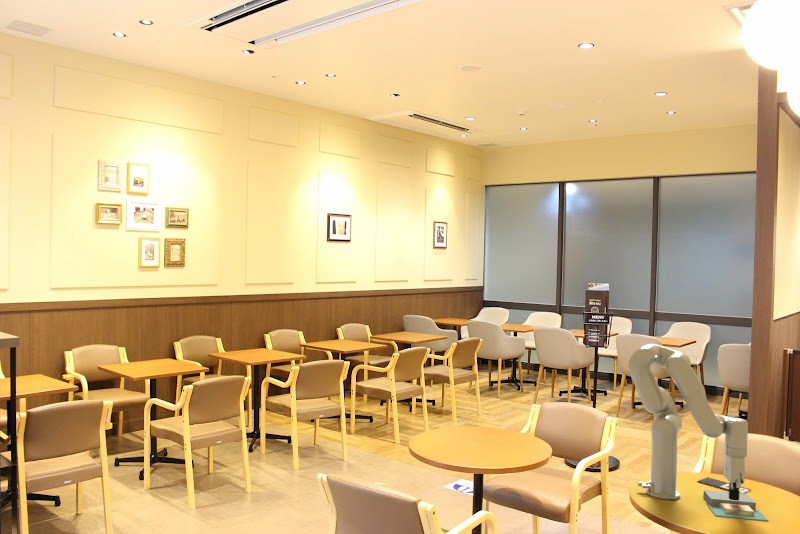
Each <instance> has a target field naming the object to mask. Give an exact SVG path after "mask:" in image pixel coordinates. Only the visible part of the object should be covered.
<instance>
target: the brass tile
mask: <svg viewBox="0 0 800 534" xmlns="http://www.w3.org/2000/svg"><path fill="white" fill-rule="evenodd" d="M719 507H720V508H721V509H722V510H723V511H724V512H725V513H729V514H739V515H750V516H754V511H753V510H752V509H751V508H750V507H749V506H748V505H745V504H734V503H723V502H720V504H719Z"/></svg>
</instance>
